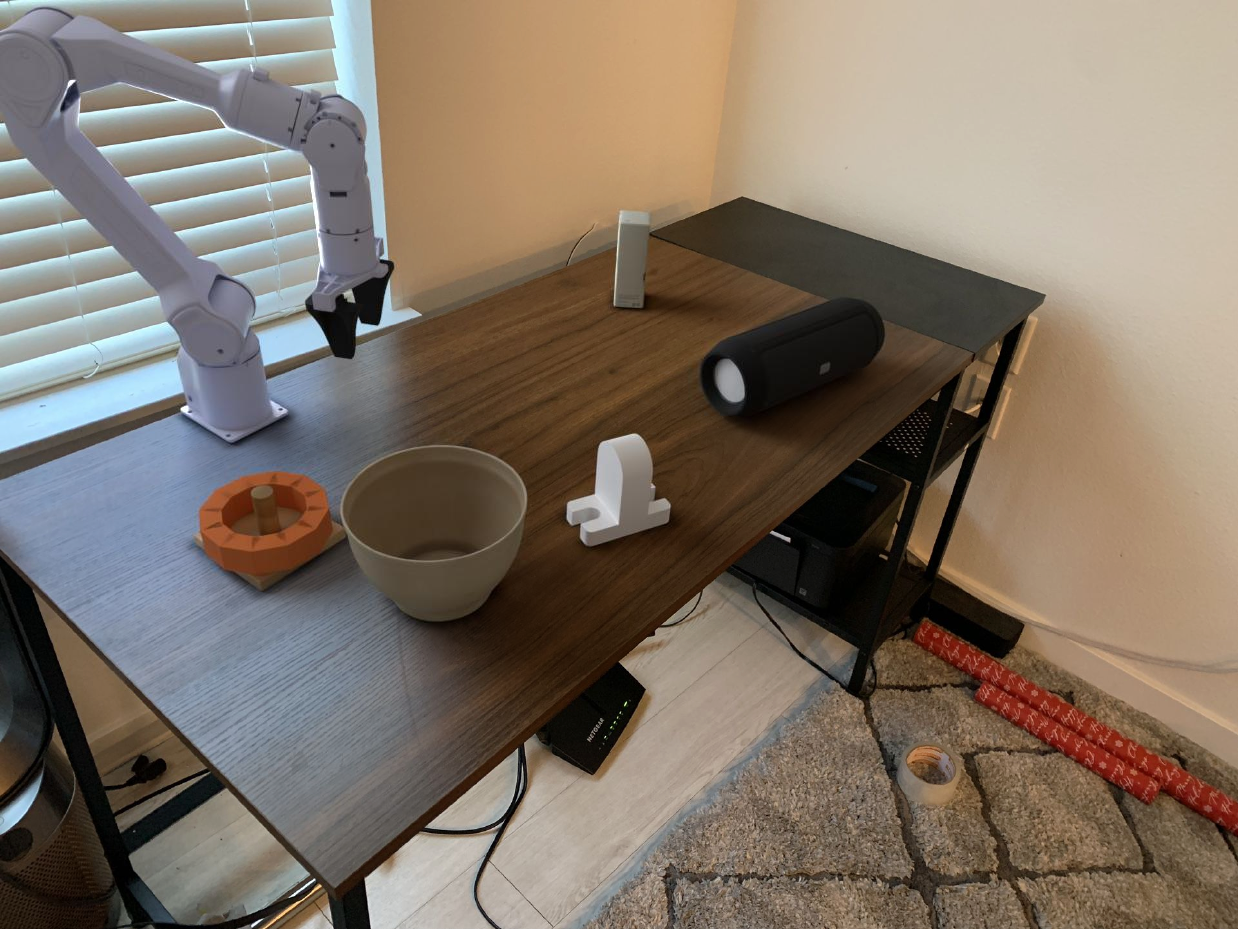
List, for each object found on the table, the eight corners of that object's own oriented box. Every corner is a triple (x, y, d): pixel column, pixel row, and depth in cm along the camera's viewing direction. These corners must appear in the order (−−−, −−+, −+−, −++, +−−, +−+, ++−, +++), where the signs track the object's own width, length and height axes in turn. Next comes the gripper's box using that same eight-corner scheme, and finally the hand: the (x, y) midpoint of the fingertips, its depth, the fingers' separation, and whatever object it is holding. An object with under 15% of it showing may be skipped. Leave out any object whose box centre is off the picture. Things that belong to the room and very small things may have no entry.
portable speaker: (745, 438, 112) (758, 366, 106) (689, 399, 118) (699, 329, 112) (880, 377, 126) (898, 310, 120) (824, 345, 132) (839, 280, 126)
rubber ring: (240, 487, 97) (235, 464, 95) (349, 504, 96) (346, 481, 94) (181, 563, 88) (175, 539, 86) (301, 583, 87) (296, 559, 85)
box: (643, 309, 136) (651, 225, 129) (612, 307, 136) (619, 223, 129) (643, 293, 141) (650, 210, 133) (613, 291, 140) (619, 208, 133)
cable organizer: (671, 521, 99) (681, 445, 93) (587, 547, 95) (592, 469, 89) (646, 492, 103) (654, 417, 97) (564, 516, 99) (568, 438, 93)
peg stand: (195, 544, 91) (182, 495, 88) (280, 495, 98) (271, 447, 94) (261, 591, 87) (250, 541, 83) (346, 537, 94) (339, 488, 90)
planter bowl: (446, 509, 98) (442, 423, 92) (561, 584, 90) (564, 497, 84) (316, 588, 88) (301, 498, 81) (433, 681, 80) (426, 590, 74)
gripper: (354, 258, 91) (367, 378, 99) (406, 203, 102) (414, 314, 110) (285, 248, 91) (303, 368, 99) (344, 194, 103) (356, 306, 111)
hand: (357, 339), depth 105 cm, fingers open, 7 cm apart
